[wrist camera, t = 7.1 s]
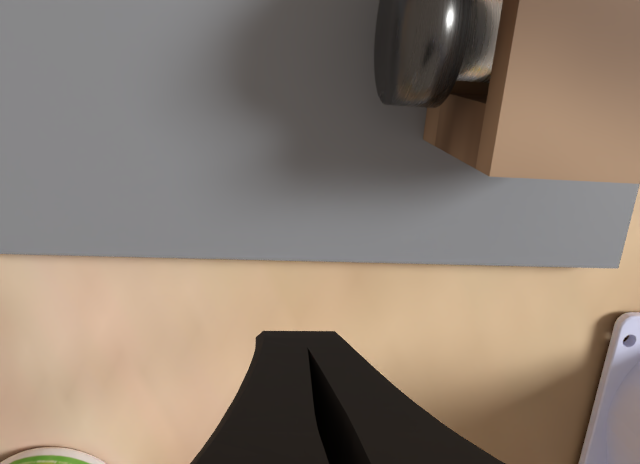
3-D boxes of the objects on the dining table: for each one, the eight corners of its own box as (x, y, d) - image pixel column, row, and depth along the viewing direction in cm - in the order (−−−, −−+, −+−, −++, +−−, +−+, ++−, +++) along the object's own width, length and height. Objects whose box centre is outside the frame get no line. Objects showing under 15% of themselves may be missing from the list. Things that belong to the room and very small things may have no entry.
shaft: (705, 119, 18) (815, 139, 14) (368, 97, 16) (403, 113, 13) (740, -7, 17) (868, -18, 13) (383, -46, 15) (426, -69, 12)
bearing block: (575, 148, 18) (689, 186, 14) (422, 139, 18) (489, 176, 13) (621, -63, 17) (768, -100, 12) (452, -83, 16) (541, -130, 11)
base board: (601, 258, 21) (618, 268, 20) (1, 242, 18) (-12, 253, 17) (712, -203, 17) (740, -217, 16) (-52, -329, 14) (-73, -356, 13)
